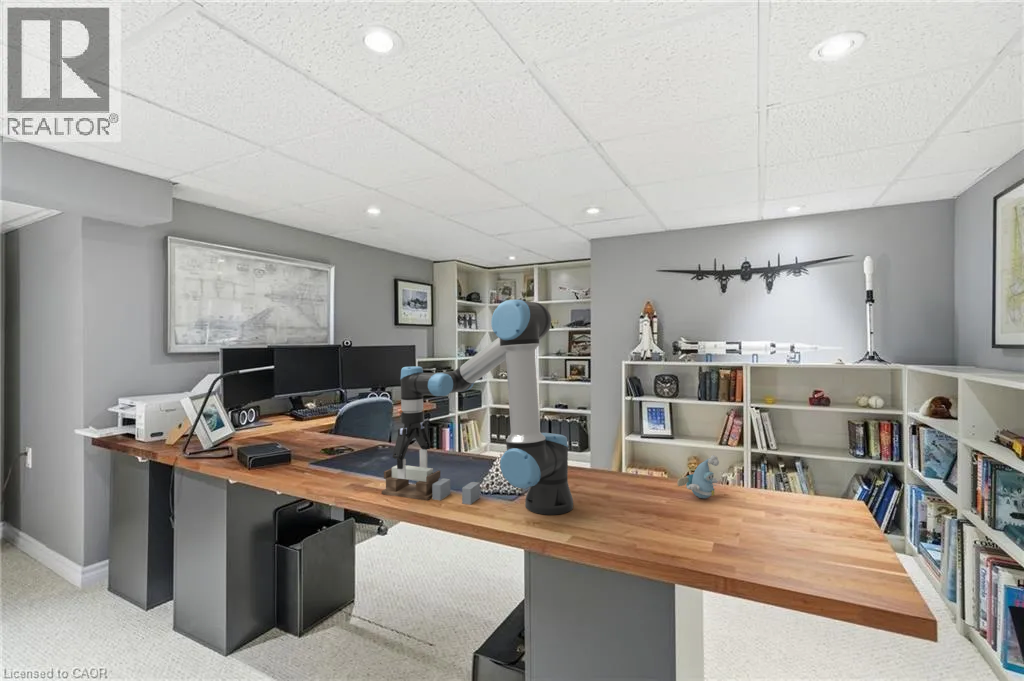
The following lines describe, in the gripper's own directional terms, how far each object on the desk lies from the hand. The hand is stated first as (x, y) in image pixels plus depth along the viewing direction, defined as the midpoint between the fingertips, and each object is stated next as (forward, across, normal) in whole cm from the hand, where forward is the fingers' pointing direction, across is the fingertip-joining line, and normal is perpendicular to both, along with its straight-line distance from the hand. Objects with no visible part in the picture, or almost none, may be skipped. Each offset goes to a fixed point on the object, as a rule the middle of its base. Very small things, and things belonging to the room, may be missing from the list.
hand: (413, 472), depth 161 cm
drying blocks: (+7, 0, +16) cm, 18 cm away
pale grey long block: (+2, 0, 0) cm, 2 cm away
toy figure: (+8, -30, +94) cm, 99 cm away
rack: (+7, 0, 0) cm, 7 cm away
